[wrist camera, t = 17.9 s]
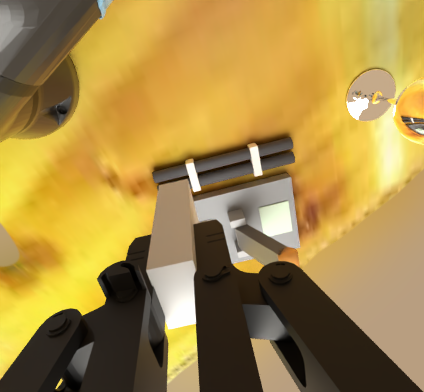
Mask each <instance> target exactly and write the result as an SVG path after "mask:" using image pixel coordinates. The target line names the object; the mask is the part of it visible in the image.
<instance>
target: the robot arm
mask: <svg viewBox="0 0 424 392" xmlns="http://www.w3.org/2000/svg"><path fill="white" fill-rule="evenodd" d="M112 1H113V0H0V142H2V141H4V140H6V139H8V138H16V139H35V138H40V137H44V136H47V135H49V134H51V133H53V132H55V131H56V130H58V129H60V128H61V127H63V126H64V125H65V124H66V123H67V122H68V121H69V120H70V118H71V117H72V115H73V113H74V112H75V109H76V106H77V103H78V98H79V83H78V77H77V73H76V70H75V67H74V65H73V63H72V61H71V59H70V57H69V55H68V54H69V53H70V51H71V50H72V49H73V48H74V47H75V46H76V44H77V43H78V42H79V41H80V40H81V38H82V37H83V36H84V35H85V34H86V33H87V31H88V30H89V29H90V28H91V27H92V25H93V24H94V23H95V22H96V21H97V20H98V18H99V19H103V17H104V16H105V13H106V9H107V8H108V6H109V5H110V4H111V2H112ZM97 280H98V282H99V284H100V286H101V288H102V290H103V292H104V294H105V296H106V298H107V299H106V302H105V305H103V306H101V307H100V308H98V309H96V310H94V311H91V312H89V313H87V314H85V315H83V316H82V315H81V313H80V312H79V311H78V310H77V309H65V310H62V311H60V312H57V313H55V314H54V315H52V316H51V317H49V318H48V319H47V320H46V321H45V322H44V323H43V324H42V325H41V326H40V327H39V329H38V330H37V331H36V333H35V334H34V335H33V337H32V338H31V339H30V341H29V342H28V343H27V345H26V346H25V347H24V349H23V350H22V351H21V353H20V354H19V356H18V357H17V358H16V360H15V361H14V362H13V364H12V365H11V366H10V368H9V369H8V370H7V372H6V373H5V374H4V376H3V377H2V378H1V380H0V392H167V365H168V339H167V336H166V333H165V331H164V330H165V321H166V323H167V326H168V329H173V328H177V327H182V326H186V325H191V324H195V323H196V333H197V351H198V368H199V386H200V392H263V389H262V385H261V381H260V377H259V373H258V368H257V364H256V360H255V356H254V352H253V347H252V344H251V339H250V338H255V339H267V340H270V343H271V344H272V346H273V348H274V349H275V351H276V353H277V354H278V356H279V357H280V359H281V361H282V362H283V364H284V365H285V367H286V369H287V370H288V372H289V374H290V375H291V377H292V379H293V380H294V382H295V383H296V385H297V386H298V388H299V390H300V391H301V392H423V391H422V390H421V389H420V388H419V387H418V386H417V385H416V384H415V383H414V382H412V380H411V379H410V378H409V377H408V376H407V375H406V374H405V373H404V372H403V371H402V370H401V369H400V368H399V367H398V366H397V365H396V364H395V363H394V362H393V361H392V360H391V359H390V358H389V357H388V356H387V355H386V354H385V353H384V352H383V351H382V350H381V349H380V348H379V347H378V346H377V345H376V344H375V343H374V342H373V341H372V340H371V339H370V338H369V337H368V336H367V335H366V334H365V333H364V332H363V331H362V330H361V329H360V328H359V327H358V326H357V325H356V324H355V323H354V322H353V321H352V320H351V319H350V318H349V317H348V316H347V315H346V314H345V313H344V312H343V311H342V310H341V309H340V308H339V307H338V306H337V305H336V304H335V303H334V302H333V301H332V300H331V299H330V298H329V297H328V296H327V295H326V294H325V293H324V292H323V291H322V290H321V289H320V288H319V287H318V286H317V285H316V284H315V283H314V282H313V281H312V280H311V279H310V278H309V277H308V276H307V274H306V273H305V272H303V270H302V269H301V268H300V267H298V266H297V265H295V264H294V263H290V262H287V261H275V262H271V263H269V264H267V265H265V266H264V267H263V268H262V269H261V270H260V272H259V273H246V272H243V271H240V270H238V269H236V268H235V267H234V266H233V264H232V262H231V258H230V254H229V250H228V246H227V242H226V237H225V233H224V229H223V225H222V224H221V223H220V222H219V221H218V220H216V219H215V220H210V221H206V222H201V223H199V220H198V216H197V213H196V209H195V205H194V201H193V197H192V193H191V189H190V185H189V182H188V179H185V180H181V181H176V182H172V183H167V184H163V185H159V189H158V196H157V202H156V209H155V215H154V222H153V228H152V234H151V235H147V236H142V237H138V238H135V240H134V241H133V242H132V243H131V245H130V246H129V249H128V253H127V257H126V261H120V262H117V263H114V264H112V265H111V266H109V267H107V268H106V269H105V270H104V271H103V272H101V273H100V275H99V277H98V278H97ZM61 378H62V380H63V381H62V383H61V385H60V386H59V387H58V388H57V389H55V388H56V386H57V384H58V383H59V381H60V379H61Z"/></svg>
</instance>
